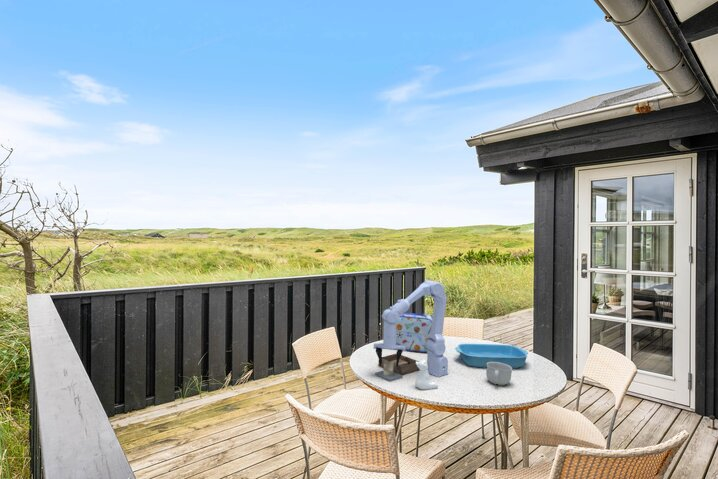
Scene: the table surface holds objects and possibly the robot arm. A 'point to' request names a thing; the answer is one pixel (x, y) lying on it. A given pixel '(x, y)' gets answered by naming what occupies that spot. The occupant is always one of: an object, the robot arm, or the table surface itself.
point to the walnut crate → (401, 364)
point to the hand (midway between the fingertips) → (389, 365)
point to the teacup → (498, 373)
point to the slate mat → (388, 378)
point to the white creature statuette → (424, 377)
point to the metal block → (388, 368)
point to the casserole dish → (491, 354)
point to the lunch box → (413, 331)
